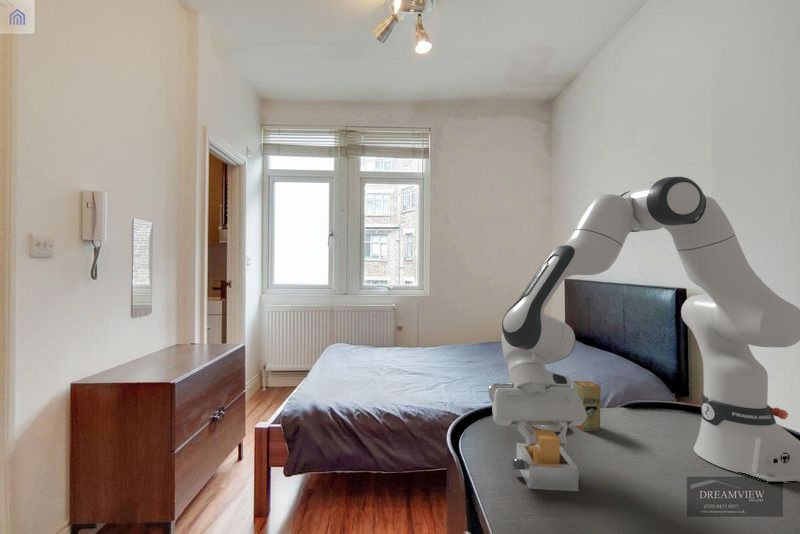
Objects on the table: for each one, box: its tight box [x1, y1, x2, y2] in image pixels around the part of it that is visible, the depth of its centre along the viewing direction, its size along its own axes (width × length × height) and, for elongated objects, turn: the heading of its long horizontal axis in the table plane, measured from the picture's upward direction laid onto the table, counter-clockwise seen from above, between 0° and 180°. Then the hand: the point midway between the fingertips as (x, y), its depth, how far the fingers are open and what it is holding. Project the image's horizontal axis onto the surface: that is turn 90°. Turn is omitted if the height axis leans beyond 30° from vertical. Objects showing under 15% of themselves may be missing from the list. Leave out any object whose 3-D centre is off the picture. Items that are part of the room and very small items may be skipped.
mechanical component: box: [530, 425, 561, 433], centre depth 102 cm, size 10×4×10 cm
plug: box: [533, 429, 560, 464], centre depth 77 cm, size 4×4×9 cm
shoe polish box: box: [572, 380, 602, 432], centre depth 101 cm, size 5×5×12 cm
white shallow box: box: [511, 442, 580, 492], centre depth 77 cm, size 12×10×4 cm
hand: (547, 445), depth 76 cm, fingers open, 5 cm apart
